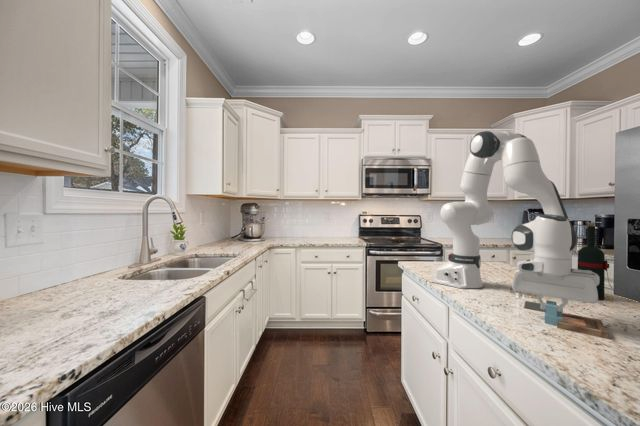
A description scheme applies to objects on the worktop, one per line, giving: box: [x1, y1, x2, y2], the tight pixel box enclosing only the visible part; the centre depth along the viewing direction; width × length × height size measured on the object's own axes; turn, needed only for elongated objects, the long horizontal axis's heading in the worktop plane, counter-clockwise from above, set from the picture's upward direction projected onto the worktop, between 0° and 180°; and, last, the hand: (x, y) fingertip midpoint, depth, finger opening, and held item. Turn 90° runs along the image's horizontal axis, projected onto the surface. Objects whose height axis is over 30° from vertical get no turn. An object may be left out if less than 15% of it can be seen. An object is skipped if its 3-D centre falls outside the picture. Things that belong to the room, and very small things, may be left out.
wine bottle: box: [577, 222, 614, 301], centre depth 108 cm, size 8×10×30 cm
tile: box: [562, 316, 587, 327], centre depth 81 cm, size 5×5×2 cm
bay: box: [556, 312, 609, 340], centre depth 80 cm, size 10×11×2 cm
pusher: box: [544, 299, 562, 327], centre depth 83 cm, size 4×7×6 cm, turn 140°
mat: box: [523, 300, 545, 313], centre depth 95 cm, size 10×10×1 cm
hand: (551, 310), depth 84 cm, fingers closed on pusher, 2 cm apart
